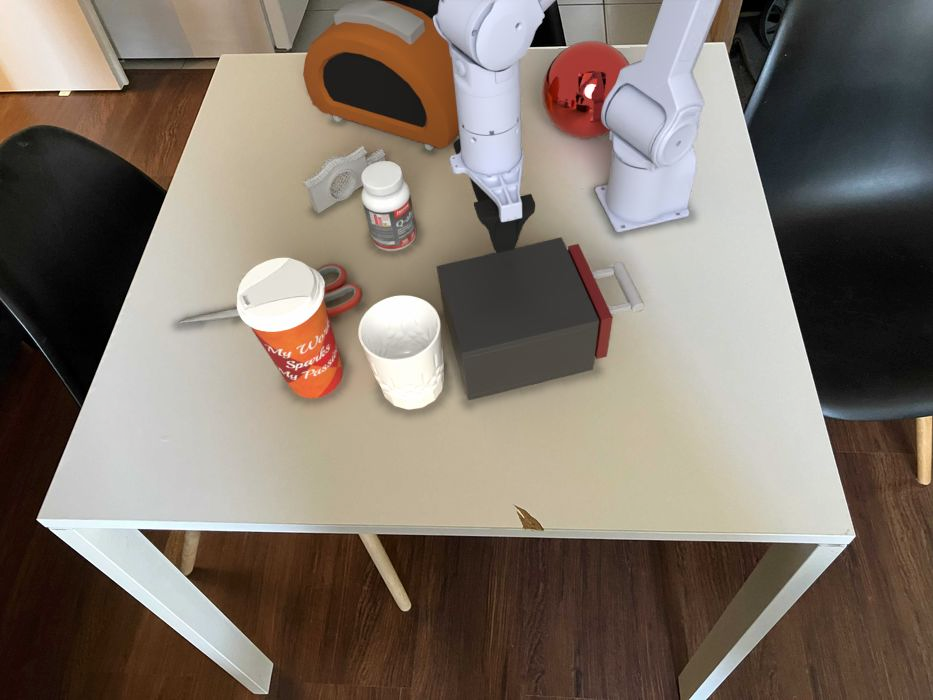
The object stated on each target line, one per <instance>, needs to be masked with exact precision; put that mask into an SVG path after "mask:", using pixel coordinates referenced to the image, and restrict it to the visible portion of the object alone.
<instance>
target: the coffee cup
mask: <svg viewBox="0 0 933 700" xmlns="http://www.w3.org/2000/svg"><path fill="white" fill-rule="evenodd" d="M317 270H318V269H315V268H313V267H311V266H309V265H308V264H306V263H304V262H303V261H300V260H298V259H295V258H291V257H277V258H272V259H268V260H266V261H262V262H261V263H259V264H257V265H256V266H254V267H253V268H251V269H250V270H249V271H247V273H246V274H245V275H244V277H243V278H242V279H241V281H240V283H239V285H238V289H237V294H236V295H237V298H236V308H237V310H238V314H239V315H240V316H239V317H240V319H241V320H242V321H243V322H244V324H246V325H247V326H249V327H250V328H251V330H252V332H253V334H254V335H255V338H257V340H258V341H259V343H260V344H261V346H262V347H263V349H264V350H265V352H266V353H267V355H268V356H269V357H270V359H271V361H272V362H273V364H274V365H275V367H276V369H277V370H278V371H279V373H280V374H281V376H282V377H283V379H284V381H285V382H286V383H287V385H288V386H289V388H290V389H291V390H292V391H293V392H294V393H295V394H296V395H298V397H302V398H305V399H318V398H323V397H324V396H326V395H329V394H330V393H332V392H333V391H334V390H335V389H336V388H337V387H338V386H339V385H340V382H341V380H342V378H343V365H342V360H341V356H340V353H339V352H340V351H339V348H338V344H337V340H336V338H335V337H336V336H335V334H334V329H333V326H332V323H331V318H329V315H328V312H327V309H328V308H327V305H326V304H327V303H325V301H324V287H325V286H326V282H325V280H324V278H323V276H321V275H320V273H319V272H318V271H317Z"/></svg>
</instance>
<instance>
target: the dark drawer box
mask: <svg viewBox="0 0 933 700" xmlns="http://www.w3.org/2000/svg"><path fill="white" fill-rule="evenodd" d="M436 272H437V279H438V285H439V291H440V297H441V304H442V310H443V311H442V312H443V316H444V321H445V324H446V328H447V331H448V334H449V338H450V341H451V344H452V349H453V351H454V354H455V358H456V362H457V365H458V369H459V373H460V375H461V376H460V377H461V379H462V383H463V386H464V389H465V393H466V396H467V400H468V401H472V400H476V399H481V398H484V397H488V396H493V395H497V394H500V393H504V392H508V391H512V390H518V389H520V388H521V389H522V388H524V387H529V386H533V385H537V384H541V383H545V382H549V381H552V380H553V381H554V380H557V379H561V378H565V377H569V376H574V375H578V374H582V373H586V372H589V371H593V370H594V363H595V358H596V357H595V349H596V341H597V333H598V325H599V319H598V317H597V315H596V313H595V310H594V308H593V306H592V304H591V301H590V299H589V297H588V295H587V293H586V290H585V288H584V286H583V284H582V281H581V279H580V277H579V275H578V272H577V270H576V268H575V266H574V264H573V261H572V259H571V257H570V255H569V252H568V247H567V246H566V244H565V242H564V239H563V237H557V238H551V239H548V240H544V241H539V242H535V243H530V244H526V245H522V246H518V247H517V246H516V247H515V249H513V250H509V251H504V252H500V253H496V252H492V253H488V254H483V255H478V256H474V257H470V258H466V259H461V260H457V261H452V262H448V263H445V264H439V265H436Z"/></svg>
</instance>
